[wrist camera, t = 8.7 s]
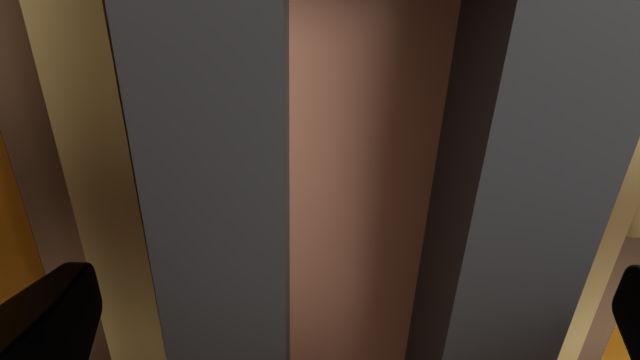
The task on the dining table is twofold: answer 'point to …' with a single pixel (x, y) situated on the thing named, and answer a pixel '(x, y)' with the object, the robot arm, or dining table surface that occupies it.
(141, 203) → the dark gray frame
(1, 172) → the dining table surface
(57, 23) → the walnut board
